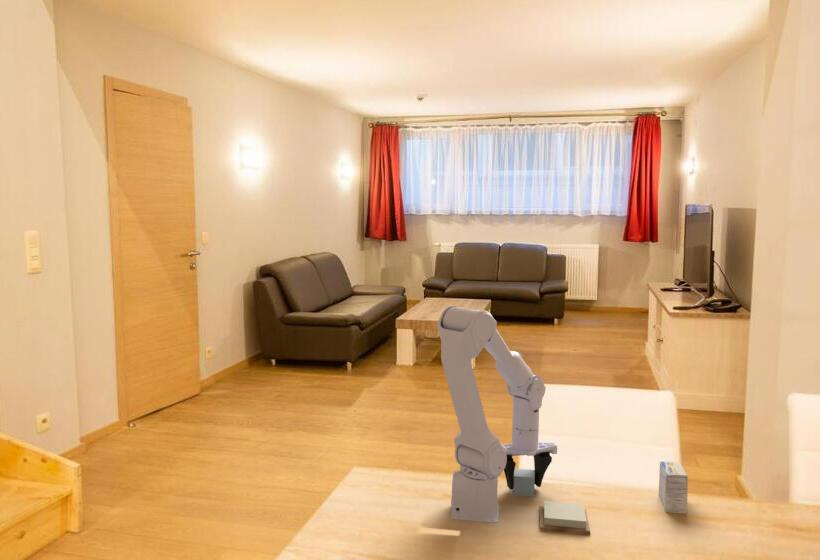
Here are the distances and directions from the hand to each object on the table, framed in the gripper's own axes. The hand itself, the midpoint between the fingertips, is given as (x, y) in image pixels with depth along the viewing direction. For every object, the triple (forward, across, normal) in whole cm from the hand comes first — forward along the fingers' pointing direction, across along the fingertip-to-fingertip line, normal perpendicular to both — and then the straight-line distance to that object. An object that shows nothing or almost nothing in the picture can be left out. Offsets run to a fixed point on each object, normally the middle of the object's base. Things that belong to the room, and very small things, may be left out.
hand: (523, 486), depth 147 cm
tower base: (+2, +3, -15) cm, 15 cm away
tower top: (+1, +3, -15) cm, 15 cm away
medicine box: (+2, +28, -13) cm, 31 cm away
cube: (+1, 0, 0) cm, 1 cm away
